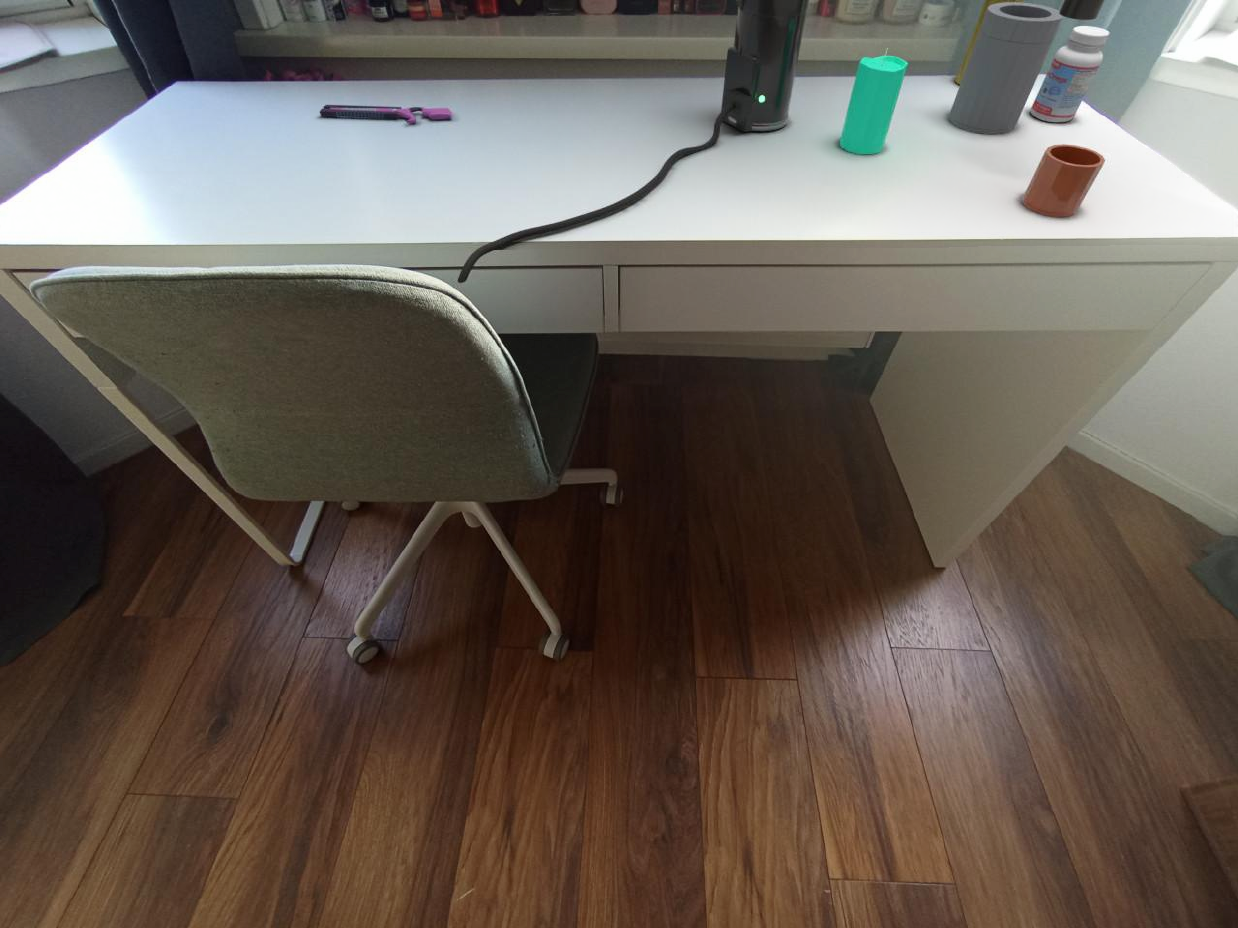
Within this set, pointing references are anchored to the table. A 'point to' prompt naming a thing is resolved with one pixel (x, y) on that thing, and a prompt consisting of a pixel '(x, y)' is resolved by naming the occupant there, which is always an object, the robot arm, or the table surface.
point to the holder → (1062, 180)
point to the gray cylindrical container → (1004, 66)
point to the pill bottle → (1070, 75)
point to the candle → (872, 103)
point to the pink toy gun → (383, 112)
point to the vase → (988, 1)
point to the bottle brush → (1081, 9)
